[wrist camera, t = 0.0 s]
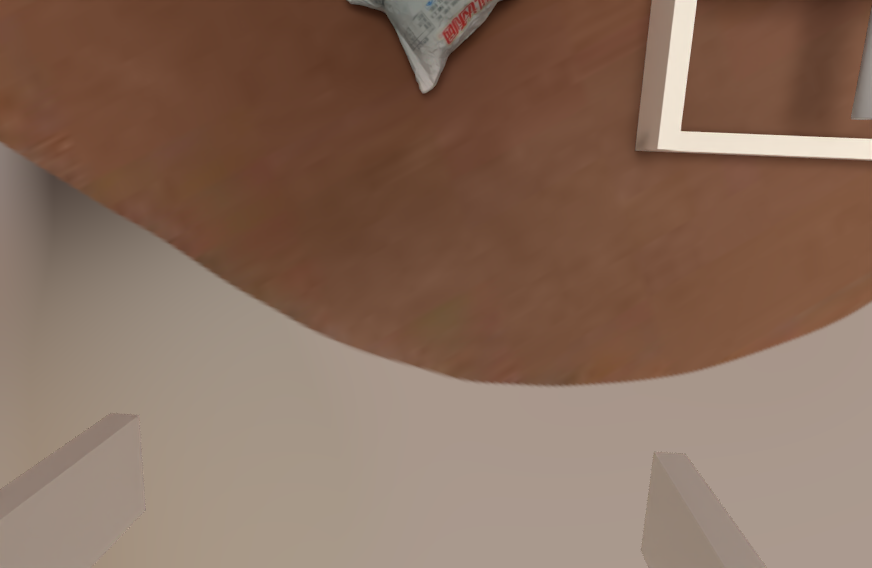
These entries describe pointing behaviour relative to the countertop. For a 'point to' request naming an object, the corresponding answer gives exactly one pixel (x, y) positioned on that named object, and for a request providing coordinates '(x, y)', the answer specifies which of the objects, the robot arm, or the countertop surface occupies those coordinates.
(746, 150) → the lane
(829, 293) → the countertop surface
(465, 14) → the packaged food
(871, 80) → the pusher
